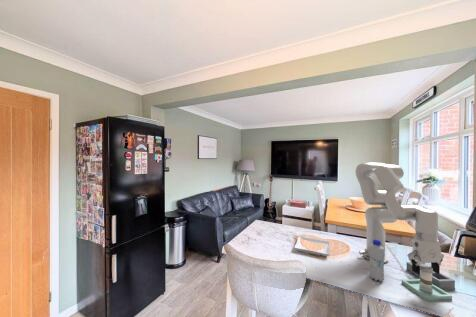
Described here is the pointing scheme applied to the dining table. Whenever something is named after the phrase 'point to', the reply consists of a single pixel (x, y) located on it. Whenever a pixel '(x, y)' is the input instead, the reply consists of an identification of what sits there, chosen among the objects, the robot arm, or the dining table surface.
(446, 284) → the block
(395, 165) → the robot arm
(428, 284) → the fuse
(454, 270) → the dining table surface
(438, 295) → the tray
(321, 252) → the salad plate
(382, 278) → the bottle
